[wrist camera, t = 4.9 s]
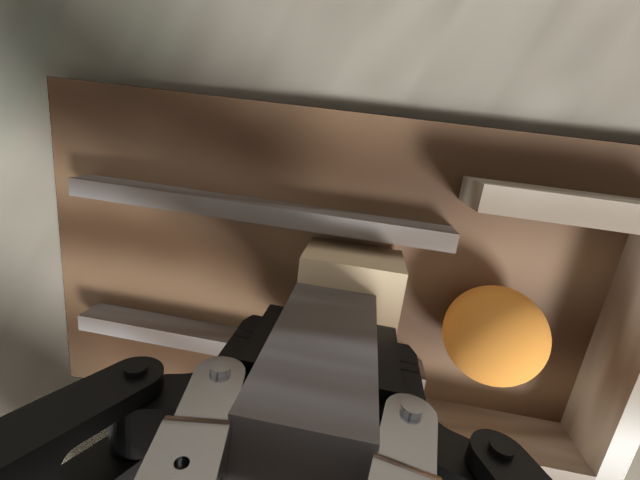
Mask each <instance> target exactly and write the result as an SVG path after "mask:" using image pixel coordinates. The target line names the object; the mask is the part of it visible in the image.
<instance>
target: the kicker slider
mask: <svg viewBox="0 0 640 480" xmlns="http://www.w3.org/2000/svg"><path fill="white" fill-rule="evenodd" d="M407 279H408V272H407V268H406V264H405V260H404V257H403V253H402V251H401V250H394V249H387V248H381V247H374V246H368V245H361V244H354V243H348V242H341V241H335V240H328V239H322V238H315V237H312V238H311V240H310V242H309V243H308V245H307V247H306V248H305V250H304V251H303V253H302V255H301V256H300V260H299V269H298V278H297V283H296V285H295V287H294V289H293V291H292V293H291V295H290V297H289V299H288V301H287V302H286V304H285V306H284V308H283V310H282V312H281V314H280V316H279V318H278V320H277V321H276V323H275V325H274V327H273V329H272V331H271V333H270V335H269V337H268V339H267V341H266V342H265V344H264V346H263V348H262V350H261V352H260V354H259V356H258V358H257V360H256V361H255V363H254V365H253V367H252V369H251V371H250V373H249V375H248V377H247V379H246V381H245V382H244V384H243V386H242V388H241V390H240V392H239V394H238V396H237V398H236V400H235V401H234V403H233V405H232V407H231V409H230V411H229V413H228V420H232V424H233V427H232V439H231V449H230V456H229V466H228V478H227V480H368V477H369V472H370V468H371V463H372V459H373V455H374V452H376V453H378V452H379V447H380V427H379V387H378V348H377V324H378V325H383V326H388V327H393V328H396V334H397V329H398V324H399V319H400V314H401V309H402V304H403V299H404V294H405V289H406V284H407Z"/></svg>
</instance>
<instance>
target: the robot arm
mask: <svg viewBox="0 0 640 480" xmlns="http://www.w3.org/2000/svg"><path fill="white" fill-rule="evenodd" d="M283 308H284V306H278V305H273V304H270V305H269V307H268V308H267V310H266V312H265V313H264V315H263V316H258V315H252V316H250V317H248V318H246V319H244V320H243V321H242V322H241V324H240V325H239V327H238V328H237V330H236V331H235V332H234V334H233V336H231V338H230V339H229V341H228V342H227V344H226V345H225V346H224V348H223V349H222V351H221V352H220V353H219V355H218V356H216V357H211V358H208V359H205V360H204V361H202V362H200V363H199V364H198V365H197V366H196V368H195V370H194V372H193V373H185V374H164V366H163V364H162V362H161V361H159V360H158V359H156V358H153V357H147V356H138V357H131V358H127V359H124V360H122V361H119V362H117V363H115V364H113V365H111V366H109V367H107V368H104V369H102V370H100V371H98V372H96V373H94V374H92V375H89V376H87V377H85V378H83V379H81V380H79V381H77V382H74V383H72V384H70V385H68V386H66V387H64V388H62V389H60V390H57V391H55V392H53V393H51V394H49V395H47V396H45V397H42V398H40V399H38V400H36V401H34V402H32V403H30V404H27V405H25V406H23V407H21V408H19V409H17V410H15V411H12V412H10V413H8V414H6V415H4V416H2V417H0V480H227V478H228V466H229V456H230V449H231V439H232V427H233V424H232V420H228V413H229V411H230V409H231V407H232V405H233V403H234V401H235V400H236V398H237V396H238V394H239V392H240V390H241V388H242V386H243V384H244V382H245V381H246V379H247V377H248V375H249V373H250V371H251V369H252V367H253V365H254V363H255V361H256V360H257V358H258V356H259V354H260V352H261V350H262V348H263V346H264V344H265V342H266V341H267V339H268V337H269V335H270V333H271V331H272V329H273V327H274V325H275V323H276V321H277V320H278V318H279V316H280V314H281V312H282V310H283ZM377 348H378V387H379V427H380V447H379V452H378V453H376V452H374V455H373V459H372V463H371V468H370V472H369V477H368V480H553V479H552V478H551V477H550V476H549V475H548V474H547V473H546V472H545V471H544V470H543V469H542V468H541V466H540V465H539V464H538V463H537V462H536V461H535V460H534V459H533V458H532V457H531V456H530V455H529V454H528V453H527V451H526V450H525V449H524V448H523V447H522V446H521V445H520V444H519V443H517V442H516V441H515V440H513V439H512V438H510V437H509V436H507V435H505V434H503V433H501V432H498V431H495V430H491V429H479V430H476V431H474V432H473V433H472V435H471V437H470V439H469V438H467V437H464V436H462V435H460V434H458V433H456V432H453V431H451V430H449V429H448V428H446V427H444V426H443V425H442V424H440V423H439V422H438V416H437V413H436V412H435V410H434V409H433V407H432V406H431V405H430V404H429V403H427V402H426V398H425V393H424V388H423V383H422V379H421V374H420V369H419V366H418V365H419V364H418V359H417V354H416V353H415V352H414V351H413V349H412V348H411V347H410V346H409V345H407V344H402V343H397V335H396V328H393V327H388V326H383V325H378V324H377ZM107 427H108V430H109V435H108V436H107V437H105V438H104V439H102V440H100V441H99V442H97V443H96V444H94V445H92V446H91V447H89V448H88V449H86V450H84V451H83V452H81V453H80V454H78V455H76V456H75V457H73V458H72V459H70V460H68V461H67V462H65V463H64V464H62V465H61V463H62V461H63V459H64V458H65V456H66V455H67V454H68V453H69V452H70V451H71V450H72V449H73V448H74V447H76V446H77V445H79V444H80V443H82V442H84V441H85V440H87V439H89V438H90V437H92V436H94V435H95V434H97V433H99V432H100V431H102V430H104V429H105V428H107Z"/></svg>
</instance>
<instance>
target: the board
mask: <svg viewBox="0 0 640 480" xmlns="http://www.w3.org/2000/svg"><path fill="white" fill-rule="evenodd" d="M47 85H48V97H49V110H50V122H51V134H52V147H53V159H54V171H55V184H56V196H57V208H58V221H59V233H60V245H61V258H62V270H63V283H64V295H65V307H66V320H67V332H68V344H69V357H70V369H71V376H75V377H80V378H85V377H87V376H89V375H92V374H94V373H96V372H98V371H100V370H102V369H104V368H107V367H109V366H111V365H113V364H115V363H117V362H119V361H122V360H124V359H127V358H131V357H138V356H147V357H153V358H156V359H158V360H159V361H161V362H162V364H163V366H164V374H185V373H193V372H194V370H195V368H196V366H197V365H198V364H199V363H200V362H202V361H204V360H205V359H208V358H211V357H216V356H218V355H219V353H220V352H221V351H222V349H223V348H224V346H225V345H226V344H227V342H228V341H229V339H230V338H231V336H233V334H234V332H235V331H236V330H237V328H238V327H239V325H240V324H241V322H242V321H243V320H244V319H246V318H248V317H250V316H252V315H258V316H263V315H264V313H265V312H266V310H267V308H268V307H269V305H270V304H273V305H278V306H285V304H286V302H287V301H288V299H289V297H290V295H291V293H292V291H293V289H294V287H295V285H296V283H297V278H298V269H299V260H300V256H301V255H302V253H303V251H304V250H305V248H306V247H307V245H308V243H309V242H310V240H311V238H312V237H315V238H322V239H328V240H335V241H341V242H348V243H354V244H361V245H368V246H374V247H381V248H387V249H394V250H401V251H402V253H403V257H404V260H405V264H406V268H407V272H408V279H407V284H406V289H405V294H404V299H403V304H402V309H401V314H400V319H399V324H398V329H397V334H396V335H397V343H402V344H407V345H409V346H410V347H411V348H412V349H413V351H414V352H415V353H416V354H417V359H418V364H419V365H418V366H419V369H420V374H421V379H422V383H423V388H424V393H425V398H426V402H427V403H429V404H430V405H431V406H432V407H433V409H434V410H435V412H436V413H437V416H438V422H439V423H440V424H442V425H443V426H444V427H446V428H448V429H449V430H451V431H453V432H456V433H458V434H460V435H462V436H464V437H467V438H469V439H470V437H471V435H472V433H473V432H474V431H476V430H479V429H491V430H495V431H498V432H501V433H503V434H505V435H507V436H509V437H510V438H512V439H513V440H515V441H516V442H517V443H519V444H520V445H521V446H522V447H523V448H524V449H525V450H526V451H527V453H528V454H529V455H530V456H531V457H532V458H533V459H534V460H535V461H536V462H537V463H538V464H539V465H540V466H541V468H542V469H543V470H544V471H545V472H546V473H547V474H548V475H549V476H550V477H551V478H552V479H553V480H624V478H625V476H626V474H627V471H628V469H629V467H630V465H631V462H632V460H633V458H634V456H635V453H636V451H637V449H638V447H639V444H640V145H633V144H624V143H615V142H607V141H598V140H590V139H581V138H573V137H564V136H555V135H547V134H538V133H530V132H521V131H513V130H504V129H495V128H487V127H478V126H470V125H461V124H453V123H444V122H436V121H427V120H418V119H410V118H401V117H393V116H384V115H376V114H367V113H358V112H350V111H341V110H333V109H324V108H316V107H307V106H298V105H290V104H281V103H273V102H264V101H256V100H247V99H238V98H230V97H221V96H213V95H204V94H196V93H187V92H178V91H170V90H161V89H153V88H144V87H136V86H127V85H118V84H110V83H101V82H93V81H84V80H76V79H67V78H59V77H50V76H47ZM486 285H497V286H503V287H507V288H511V289H513V290H516V291H518V292H520V293H522V294H523V295H525V296H526V297H528V298H529V299H531V300H532V301H533V302H534V303H535V304H536V305H537V306H538V307H539V309H540V310H541V311H542V313H543V314H544V316H545V317H546V319H547V322H548V324H549V327H550V331H551V336H552V347H551V353H550V356H549V359H548V361H547V363H546V365H545V366H544V368H543V369H542V370H541V372H540V373H539V374H538V375H536V376H535V377H534V378H532V379H531V380H529V381H528V382H526V383H523V384H520V385H517V386H513V387H492V386H488V385H485V384H482V383H479V382H477V381H475V380H473V379H471V378H470V377H468V376H467V375H465V374H464V373H463V372H462V371H460V370H459V368H458V367H457V366H456V365H455V364H454V363H453V361H452V360H451V358H450V357H449V355H448V353H447V351H446V348H445V346H444V341H443V336H442V325H443V320H444V317H445V314H446V312H447V310H448V308H449V306H450V305H451V303H452V302H453V301H454V300H455V299H456V298H457V297H458V296H460V295H461V294H462V293H464V292H466V291H468V290H470V289H472V288H475V287H479V286H486Z"/></svg>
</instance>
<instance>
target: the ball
mask: <svg viewBox="0 0 640 480" xmlns="http://www.w3.org/2000/svg"><path fill="white" fill-rule="evenodd" d="M442 336H443V341H444V346H445V348H446V351H447V353H448V355H449V357H450V358H451V360H452V361H453V363H454V364H455V365H456V366H457V367H458V368H459V370H460V371H462V372H463V373H464V374H465V375H467V376H468V377H470V378H471V379H473V380H475V381H477V382H479V383H482V384H485V385H488V386H492V387H513V386H517V385H520V384H523V383H526V382H528V381H529V380H531V379H532V378H534V377H535V376H536V375H538V374H539V373H540V372H541V370H542V369H543V368H544V366H545V365H546V363H547V361H548V359H549V356H550V353H551V347H552V336H551V331H550V327H549V324H548V322H547V319H546V317H545V316H544V314H543V313H542V311H541V310H540V309H539V307H538V306H537V305H536V304H535V303H534V302H533V301H532V300H531V299H529V298H528V297H526V296H525V295H523V294H522V293H520V292H518V291H516V290H513V289H511V288H507V287H503V286H497V285H486V286H479V287H475V288H472V289H470V290H468V291H466V292H464V293H462V294H461V295H460V296H458V297H457V298H456V299H455V300H454V301H453V302H452V303H451V305H450V306H449V308H448V310H447V312H446V314H445V317H444V320H443V325H442Z"/></svg>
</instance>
